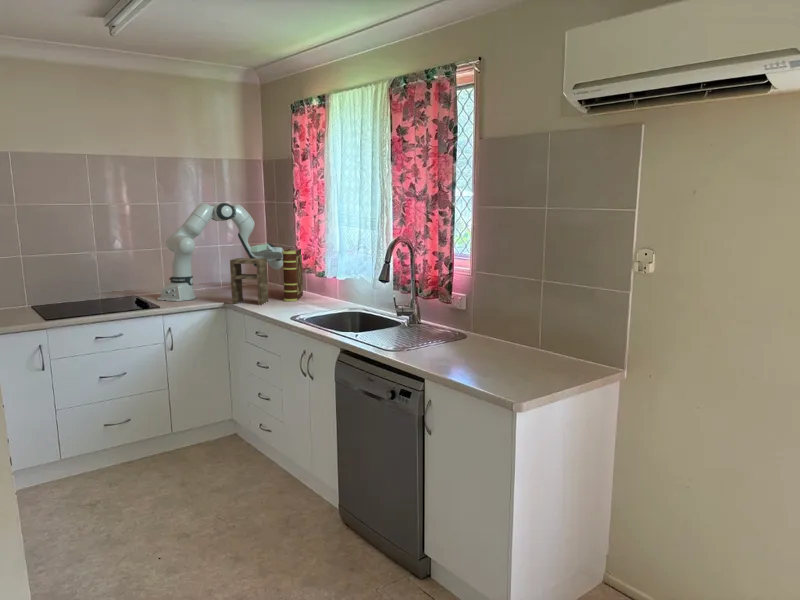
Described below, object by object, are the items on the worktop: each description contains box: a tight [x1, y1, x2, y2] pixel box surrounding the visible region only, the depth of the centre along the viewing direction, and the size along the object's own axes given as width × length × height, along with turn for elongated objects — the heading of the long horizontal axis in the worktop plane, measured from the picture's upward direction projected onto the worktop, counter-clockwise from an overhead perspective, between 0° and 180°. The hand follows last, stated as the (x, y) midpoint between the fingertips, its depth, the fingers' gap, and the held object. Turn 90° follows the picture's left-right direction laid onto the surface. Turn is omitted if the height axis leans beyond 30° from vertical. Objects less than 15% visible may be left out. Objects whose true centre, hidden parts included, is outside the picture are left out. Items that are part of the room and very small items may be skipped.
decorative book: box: [282, 248, 304, 302], centre depth 363 cm, size 22×8×30 cm, turn 179°
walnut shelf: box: [229, 257, 269, 306], centre depth 347 cm, size 18×11×26 cm, turn 82°
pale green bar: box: [250, 243, 268, 252], centre depth 362 cm, size 4×19×3 cm, turn 172°
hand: (263, 246), depth 368 cm, fingers closed on pale green bar, 4 cm apart
